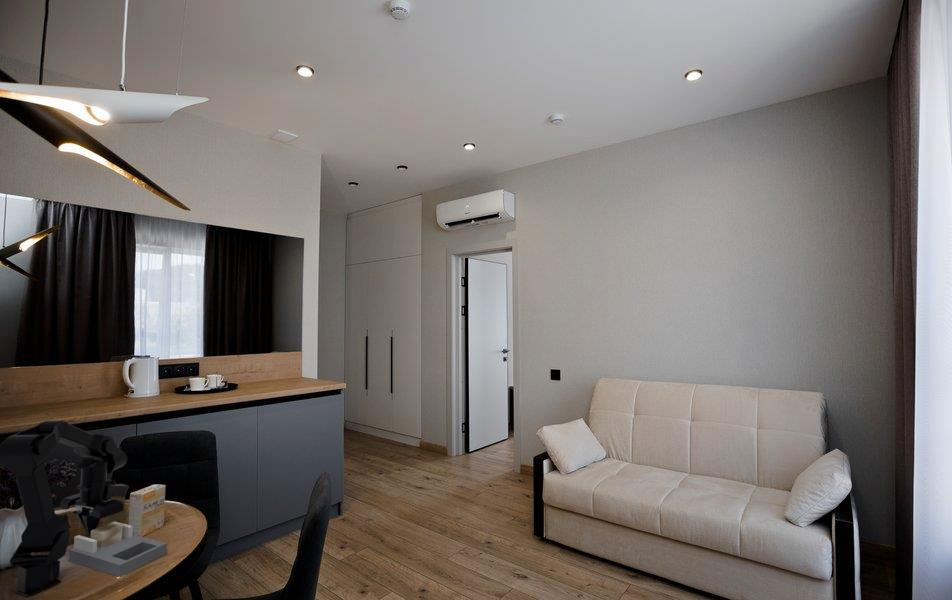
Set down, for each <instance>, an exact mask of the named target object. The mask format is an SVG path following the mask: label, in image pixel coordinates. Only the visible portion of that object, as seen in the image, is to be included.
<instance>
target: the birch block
mask: <svg viewBox="0 0 952 600" xmlns="http://www.w3.org/2000/svg"><path fill="white" fill-rule="evenodd" d="M90 538H91V539H94V540H97V547H98V548H101V549H102V548H105V547H107V546H109V545H112V544H114V543H116V542H119V541H121V540H122V526H120V525H117V524H113V523H106V524H104V525H101V526H100V527H97V528H96V529H94V530H91V536H90Z"/></svg>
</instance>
